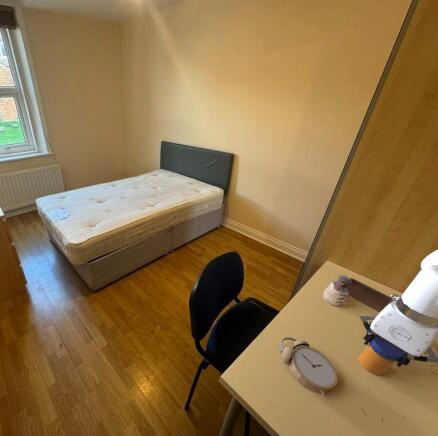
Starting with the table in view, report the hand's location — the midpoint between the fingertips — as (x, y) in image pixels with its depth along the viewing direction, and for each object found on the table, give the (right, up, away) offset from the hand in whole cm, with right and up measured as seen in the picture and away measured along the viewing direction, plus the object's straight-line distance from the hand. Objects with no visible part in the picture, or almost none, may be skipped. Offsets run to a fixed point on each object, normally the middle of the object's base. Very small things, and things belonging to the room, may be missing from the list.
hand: (382, 351), depth 65 cm
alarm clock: (-20, -6, +3) cm, 22 cm away
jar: (0, -6, +3) cm, 7 cm away
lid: (0, +3, -2) cm, 3 cm away
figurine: (+6, +6, +24) cm, 26 cm away
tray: (+19, +7, +26) cm, 33 cm away
